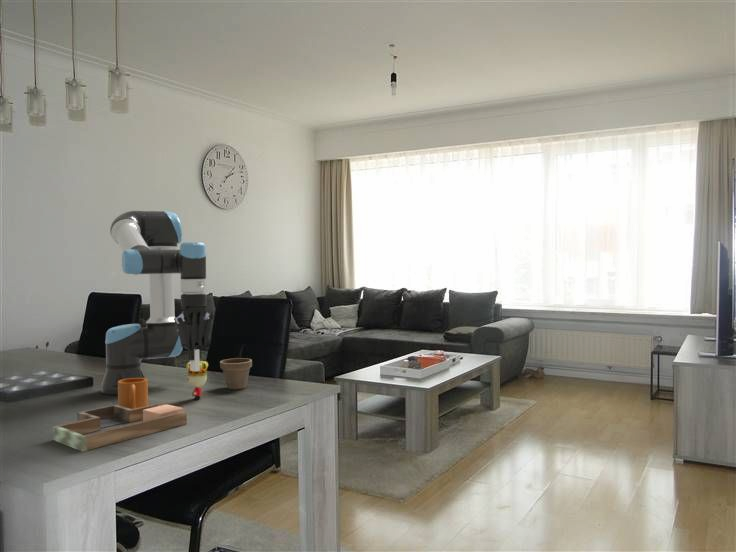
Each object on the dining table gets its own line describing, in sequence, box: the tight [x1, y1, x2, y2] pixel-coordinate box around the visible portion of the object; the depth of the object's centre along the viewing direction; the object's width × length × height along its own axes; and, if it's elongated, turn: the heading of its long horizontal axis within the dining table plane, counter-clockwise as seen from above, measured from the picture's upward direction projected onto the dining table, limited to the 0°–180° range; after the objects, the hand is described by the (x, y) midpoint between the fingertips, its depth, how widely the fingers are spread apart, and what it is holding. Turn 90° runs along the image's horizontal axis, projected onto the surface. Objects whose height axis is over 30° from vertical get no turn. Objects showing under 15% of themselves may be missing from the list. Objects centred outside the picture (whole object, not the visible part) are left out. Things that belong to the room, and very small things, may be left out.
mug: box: [117, 377, 149, 409], centre depth 186 cm, size 9×12×9 cm
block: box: [142, 403, 185, 421], centre depth 173 cm, size 8×8×4 cm
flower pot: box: [219, 357, 253, 390], centre depth 217 cm, size 12×11×10 cm
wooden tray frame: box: [52, 403, 188, 453], centre depth 166 cm, size 25×30×4 cm
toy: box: [185, 360, 209, 401], centre depth 200 cm, size 7×7×15 cm
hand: (194, 370), depth 181 cm, fingers closed
